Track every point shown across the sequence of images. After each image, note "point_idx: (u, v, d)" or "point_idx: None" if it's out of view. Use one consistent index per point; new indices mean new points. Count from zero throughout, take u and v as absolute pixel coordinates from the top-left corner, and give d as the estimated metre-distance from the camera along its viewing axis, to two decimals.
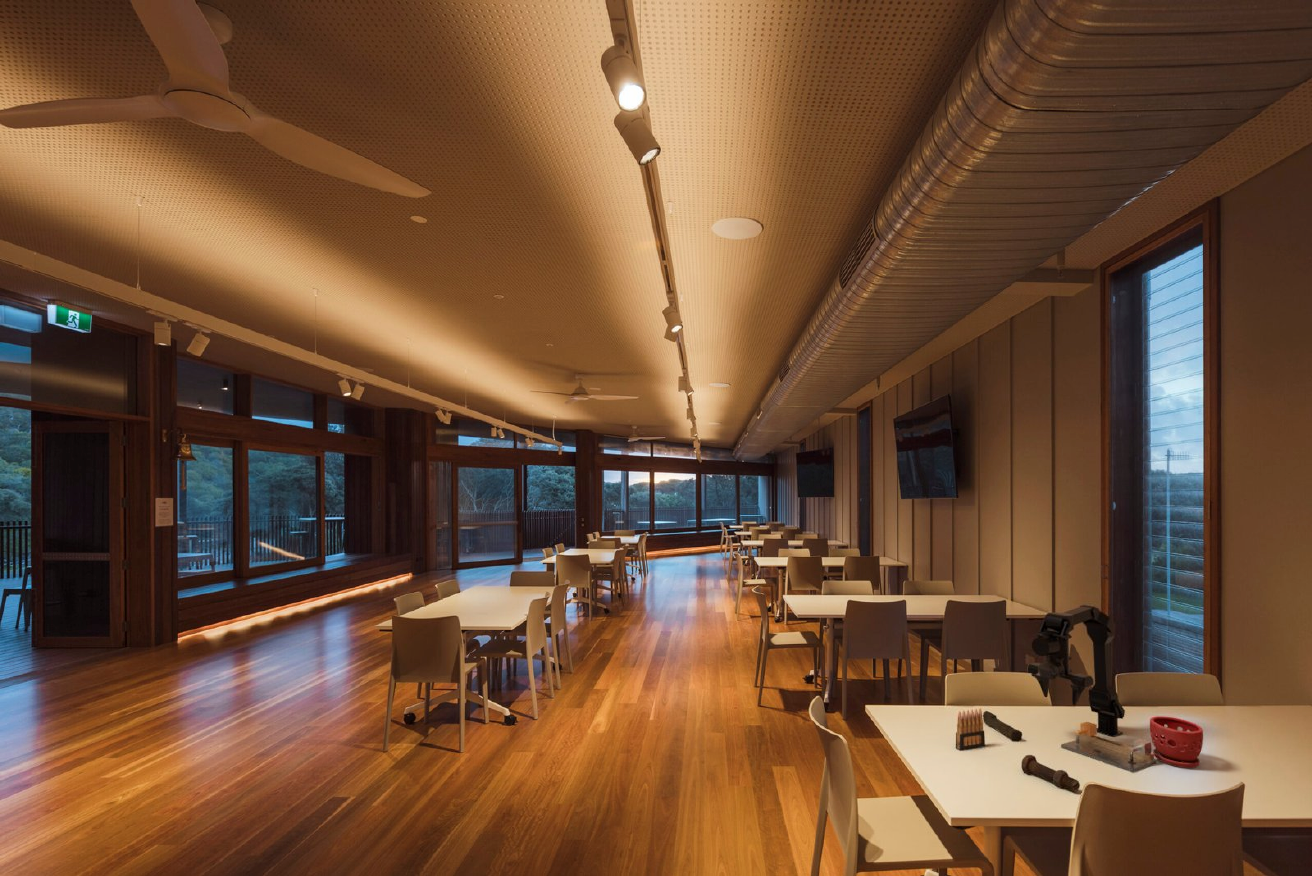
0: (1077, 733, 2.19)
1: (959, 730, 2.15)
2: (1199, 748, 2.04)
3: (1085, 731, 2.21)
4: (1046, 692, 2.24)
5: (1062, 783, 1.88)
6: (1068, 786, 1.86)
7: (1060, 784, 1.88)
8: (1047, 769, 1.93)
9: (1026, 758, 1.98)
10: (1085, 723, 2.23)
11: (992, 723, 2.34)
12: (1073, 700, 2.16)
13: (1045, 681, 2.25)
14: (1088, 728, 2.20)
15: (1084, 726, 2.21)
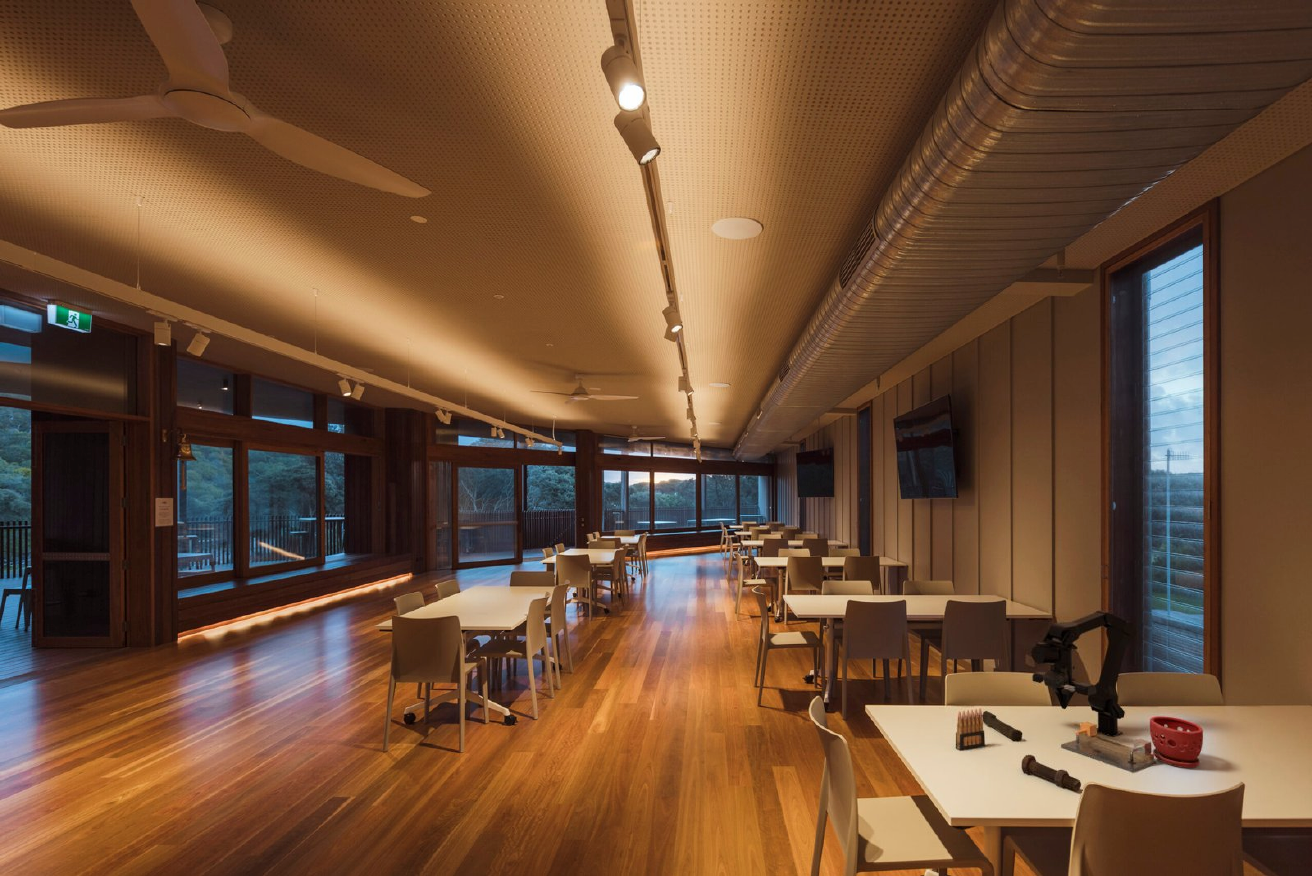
0: (1077, 733, 2.19)
1: (959, 730, 2.15)
2: (1199, 748, 2.04)
3: (1085, 731, 2.21)
4: None
5: (1063, 783, 1.89)
6: (1070, 786, 1.87)
7: (1061, 784, 1.89)
8: (1048, 769, 1.93)
9: (1026, 758, 1.98)
10: (1085, 723, 2.23)
11: (992, 723, 2.34)
12: (1063, 704, 2.29)
13: None
14: (1088, 728, 2.20)
15: (1084, 726, 2.21)
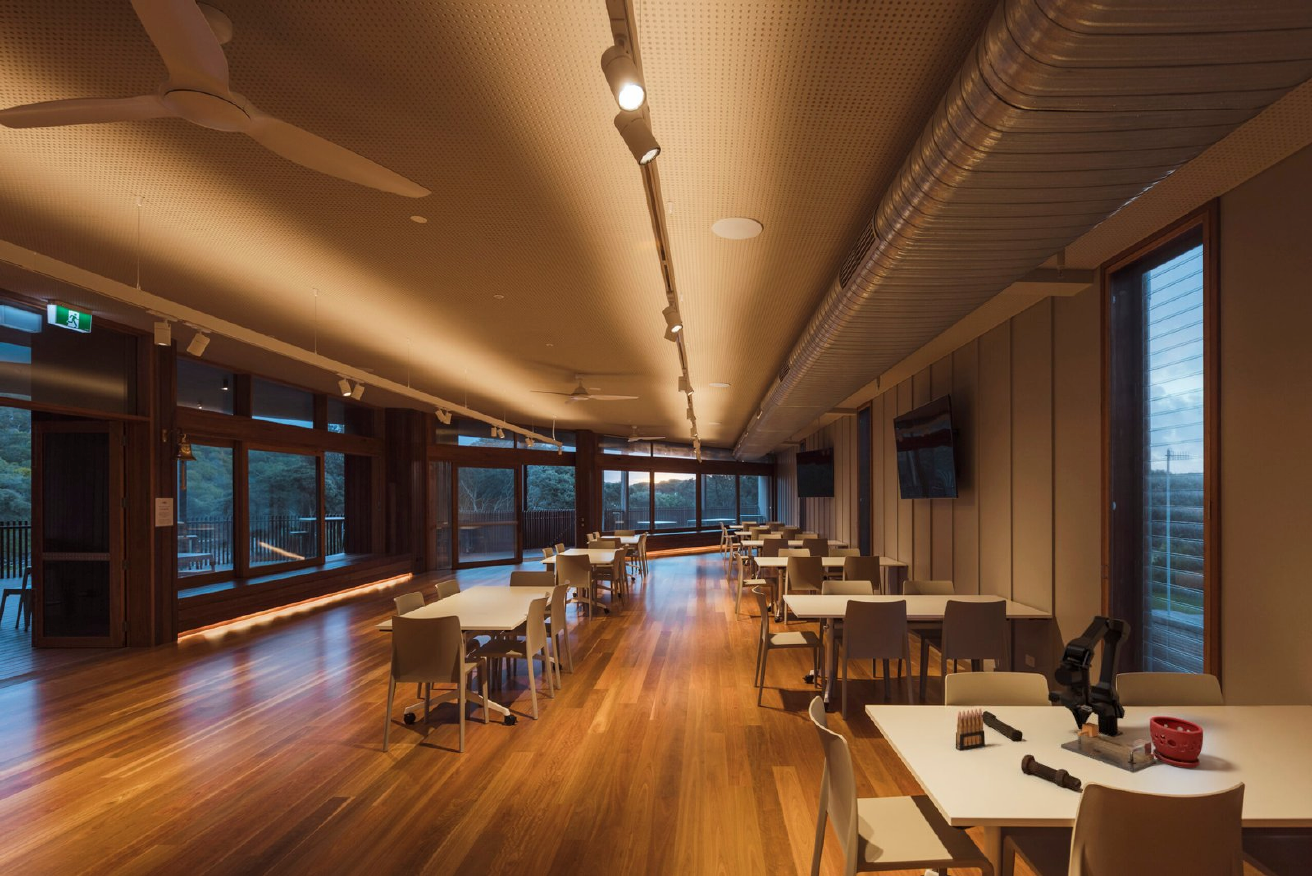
0: (1079, 734, 2.18)
1: (959, 730, 2.15)
2: (1199, 748, 2.04)
3: (1087, 732, 2.20)
4: None
5: (1064, 782, 1.89)
6: (1070, 785, 1.87)
7: (1062, 783, 1.89)
8: (1048, 768, 1.93)
9: (1026, 758, 1.98)
10: (1087, 724, 2.22)
11: (992, 723, 2.34)
12: (1080, 725, 2.24)
13: None
14: (1090, 729, 2.20)
15: (1086, 727, 2.21)
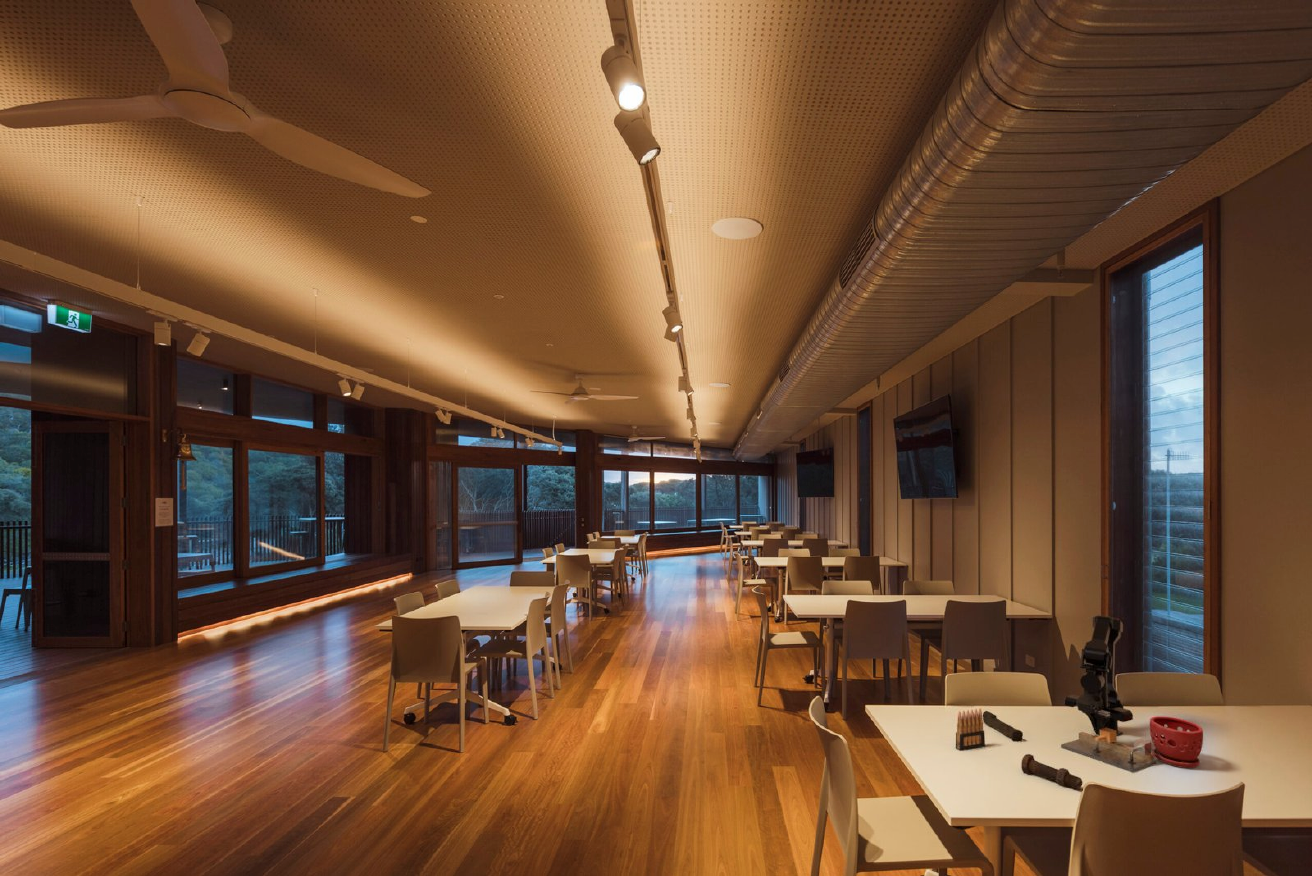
0: (1097, 739, 2.14)
1: (959, 730, 2.15)
2: (1199, 748, 2.04)
3: (1105, 737, 2.15)
4: None
5: (1065, 782, 1.89)
6: (1072, 784, 1.88)
7: (1063, 782, 1.89)
8: (1048, 768, 1.94)
9: (1026, 758, 1.98)
10: (1104, 729, 2.18)
11: (992, 723, 2.34)
12: (1097, 730, 2.19)
13: (1096, 718, 2.20)
14: (1108, 734, 2.15)
15: (1104, 732, 2.16)
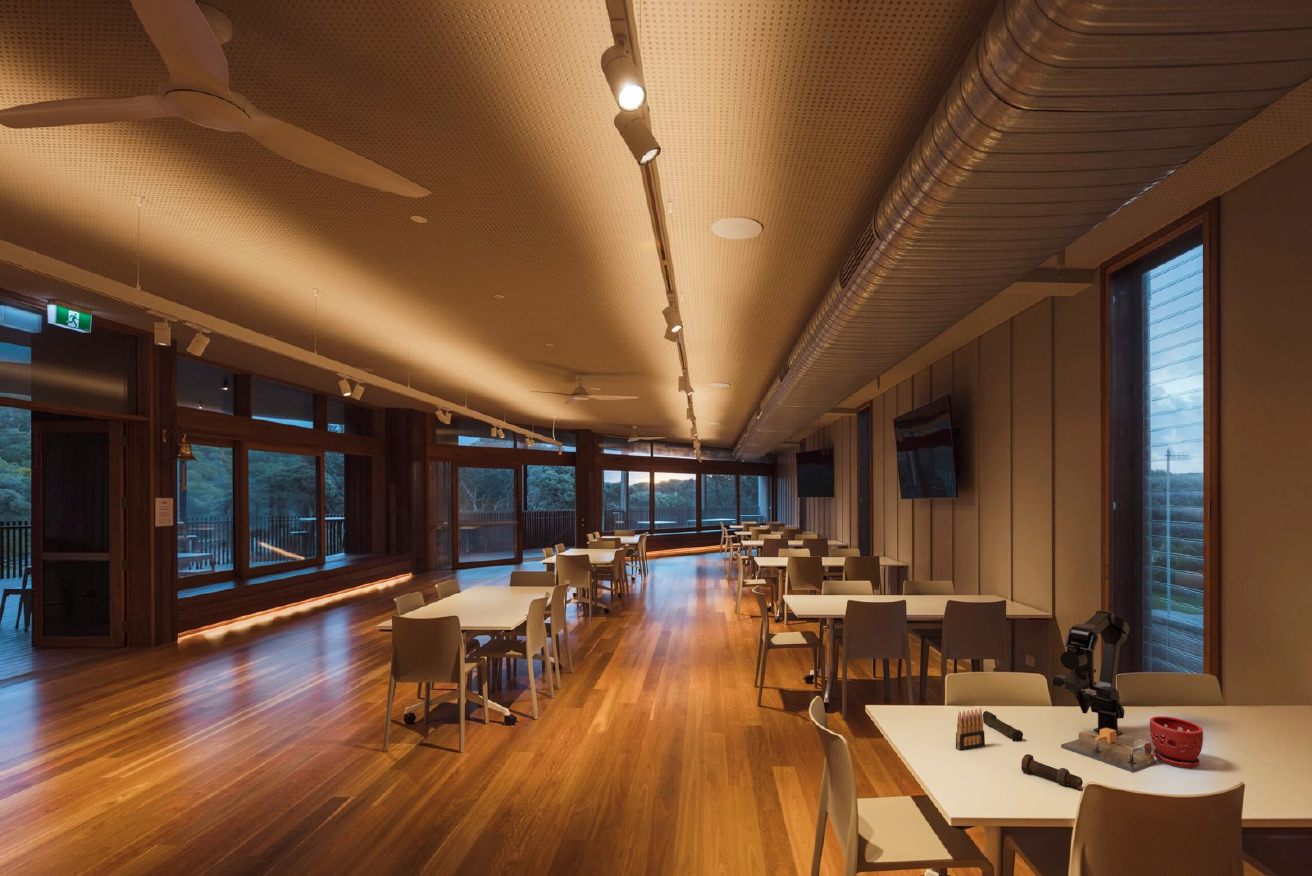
0: (1097, 739, 2.13)
1: (959, 730, 2.15)
2: (1199, 748, 2.04)
3: (1105, 737, 2.15)
4: None
5: (1065, 781, 1.90)
6: (1073, 784, 1.88)
7: (1064, 782, 1.90)
8: (1048, 768, 1.94)
9: (1026, 758, 1.98)
10: (1104, 729, 2.18)
11: (992, 723, 2.34)
12: (1084, 708, 2.23)
13: None
14: (1108, 734, 2.15)
15: (1104, 732, 2.16)
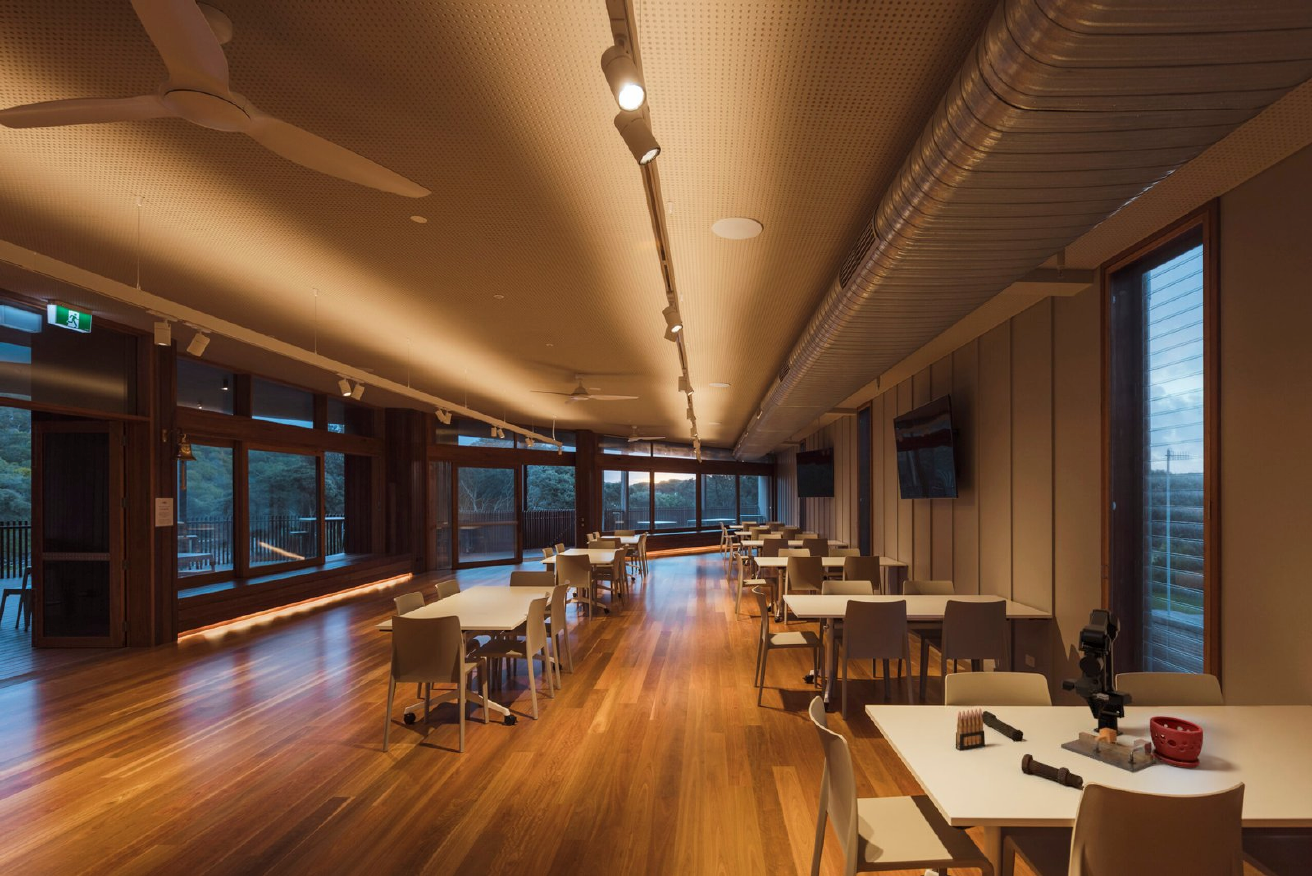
0: (1097, 739, 2.13)
1: (959, 730, 2.15)
2: (1199, 748, 2.04)
3: (1105, 737, 2.15)
4: None
5: (1066, 781, 1.90)
6: (1074, 783, 1.88)
7: (1065, 782, 1.90)
8: (1049, 767, 1.94)
9: (1026, 758, 1.98)
10: (1104, 729, 2.18)
11: (992, 723, 2.34)
12: (1096, 714, 2.14)
13: (1094, 702, 2.15)
14: (1108, 734, 2.15)
15: (1104, 732, 2.16)
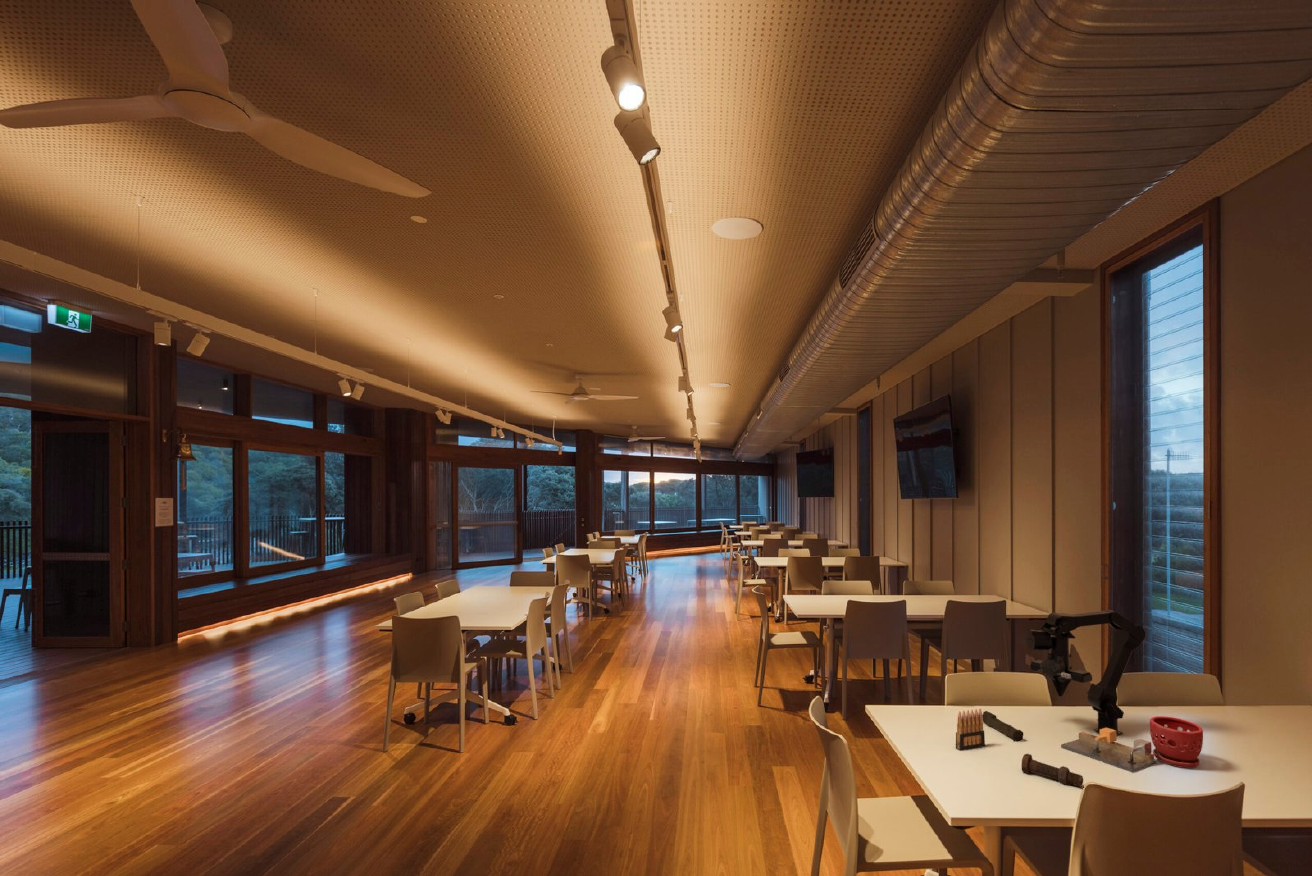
0: (1097, 739, 2.13)
1: (959, 730, 2.15)
2: (1199, 748, 2.04)
3: (1105, 737, 2.15)
4: None
5: (1067, 780, 1.91)
6: (1074, 782, 1.89)
7: (1066, 781, 1.91)
8: (1049, 767, 1.95)
9: (1026, 758, 1.98)
10: (1104, 729, 2.18)
11: (992, 723, 2.34)
12: (1060, 691, 2.33)
13: (1059, 681, 2.35)
14: (1108, 734, 2.15)
15: (1104, 732, 2.16)
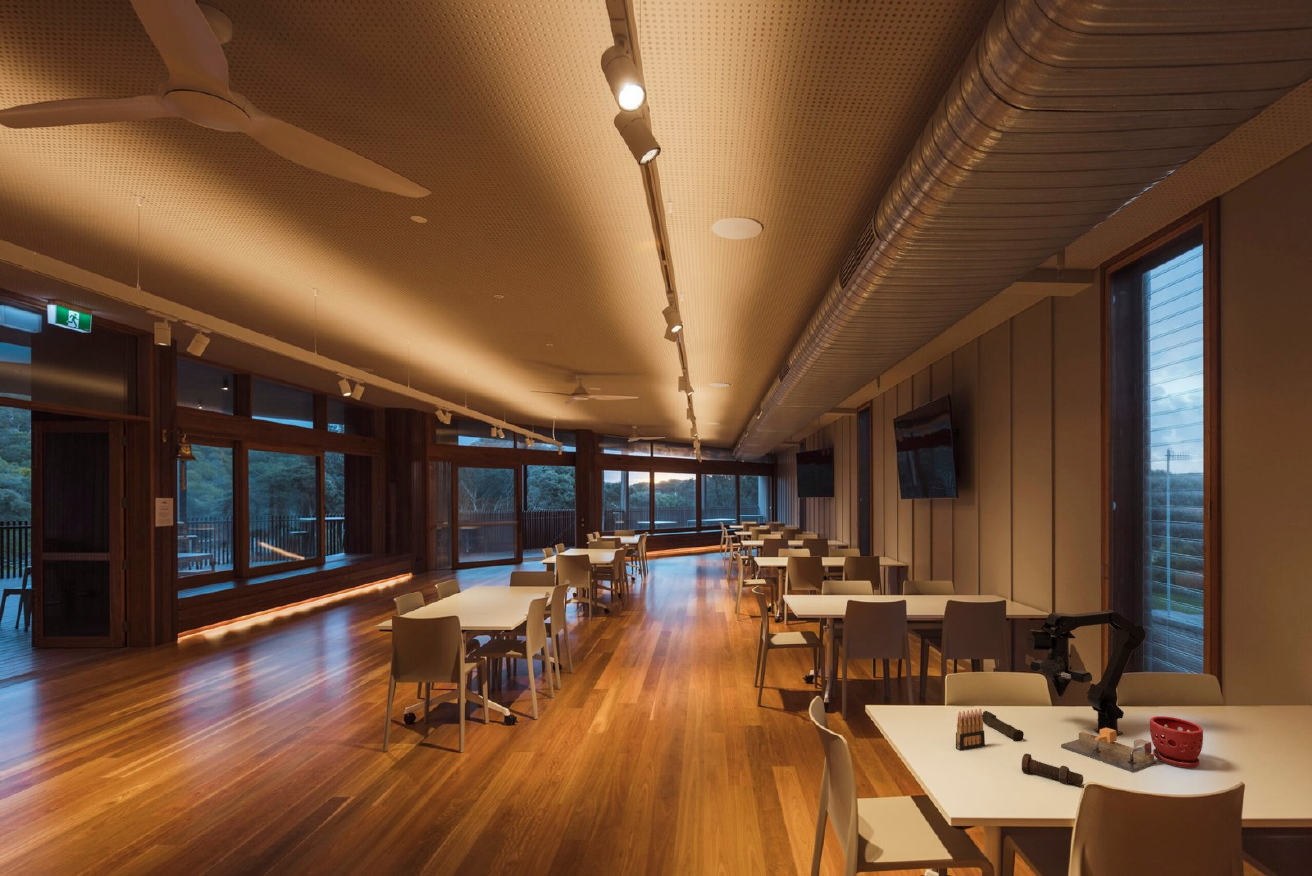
0: (1097, 739, 2.13)
1: (959, 730, 2.15)
2: (1199, 748, 2.04)
3: (1105, 737, 2.15)
4: None
5: (1067, 779, 1.91)
6: (1075, 781, 1.90)
7: (1066, 780, 1.91)
8: (1049, 766, 1.95)
9: (1026, 758, 1.98)
10: (1104, 729, 2.18)
11: (992, 723, 2.34)
12: (1060, 691, 2.33)
13: (1059, 681, 2.35)
14: (1108, 734, 2.15)
15: (1104, 732, 2.16)
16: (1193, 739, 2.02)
